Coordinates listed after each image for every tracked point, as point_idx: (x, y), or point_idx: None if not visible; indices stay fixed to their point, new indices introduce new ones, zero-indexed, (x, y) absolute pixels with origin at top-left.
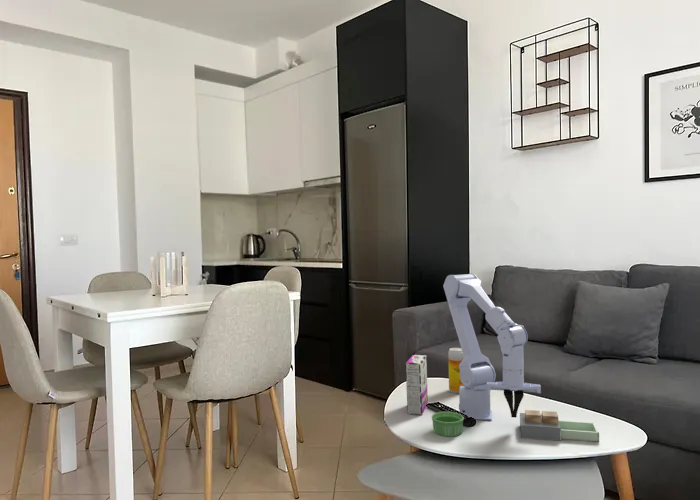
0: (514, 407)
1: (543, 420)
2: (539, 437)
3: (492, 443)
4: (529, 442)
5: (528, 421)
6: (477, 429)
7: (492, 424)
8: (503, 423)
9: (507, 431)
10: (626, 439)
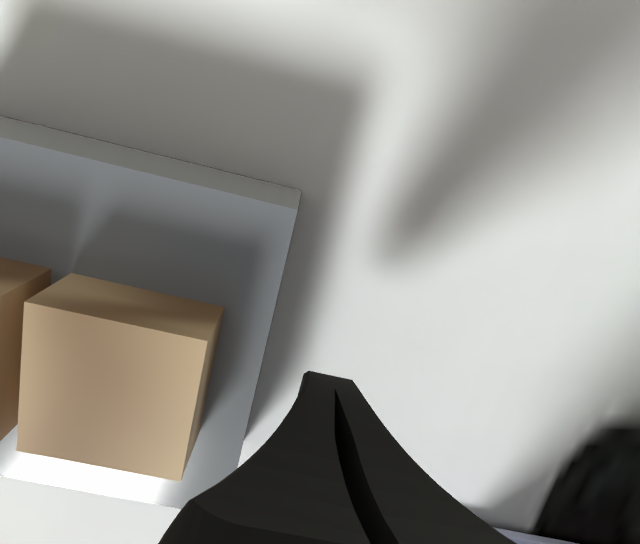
0: (332, 433)
1: (30, 274)
2: (152, 155)
3: (592, 71)
4: (262, 83)
5: (197, 302)
6: (590, 369)
7: (442, 454)
8: None
9: (375, 325)
10: None
